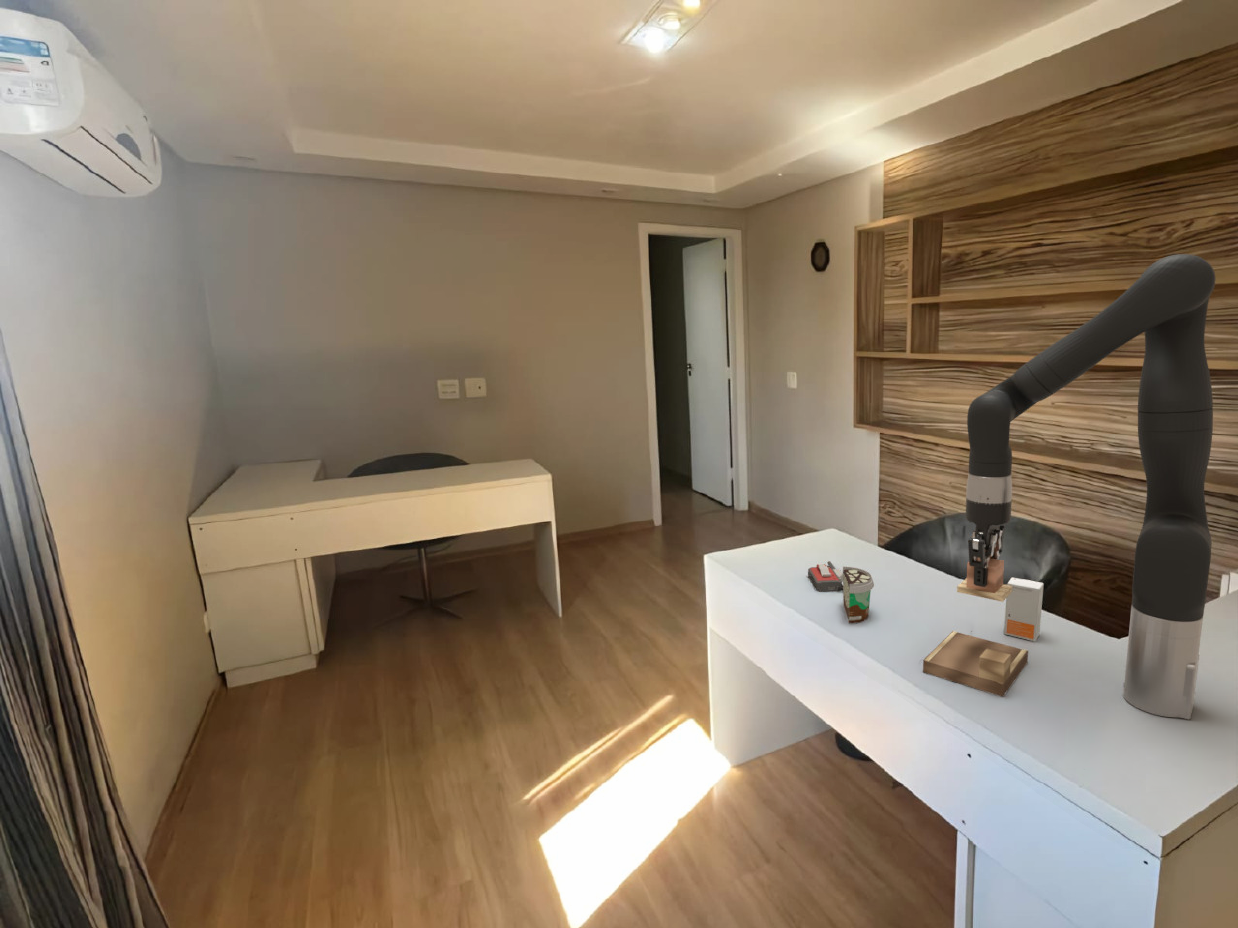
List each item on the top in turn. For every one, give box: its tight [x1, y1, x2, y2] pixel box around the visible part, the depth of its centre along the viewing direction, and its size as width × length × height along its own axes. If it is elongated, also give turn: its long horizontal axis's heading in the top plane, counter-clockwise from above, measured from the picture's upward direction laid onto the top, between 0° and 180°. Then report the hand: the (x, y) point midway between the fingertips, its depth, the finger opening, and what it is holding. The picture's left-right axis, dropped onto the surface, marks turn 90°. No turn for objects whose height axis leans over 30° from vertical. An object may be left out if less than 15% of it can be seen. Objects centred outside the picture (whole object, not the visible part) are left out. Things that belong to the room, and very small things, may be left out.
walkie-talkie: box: [807, 560, 843, 593], centre depth 175 cm, size 9×4×20 cm
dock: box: [922, 630, 1029, 698], centre depth 127 cm, size 14×16×3 cm
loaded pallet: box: [956, 557, 1012, 603], centre depth 125 cm, size 8×6×6 cm
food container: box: [842, 566, 875, 624], centre depth 152 cm, size 12×6×10 cm, turn 168°
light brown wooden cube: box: [979, 649, 1011, 684], centre depth 118 cm, size 4×4×4 cm
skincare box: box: [1003, 577, 1045, 643], centre depth 137 cm, size 6×4×12 cm
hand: (985, 580), depth 126 cm, fingers closed on loaded pallet, 5 cm apart
